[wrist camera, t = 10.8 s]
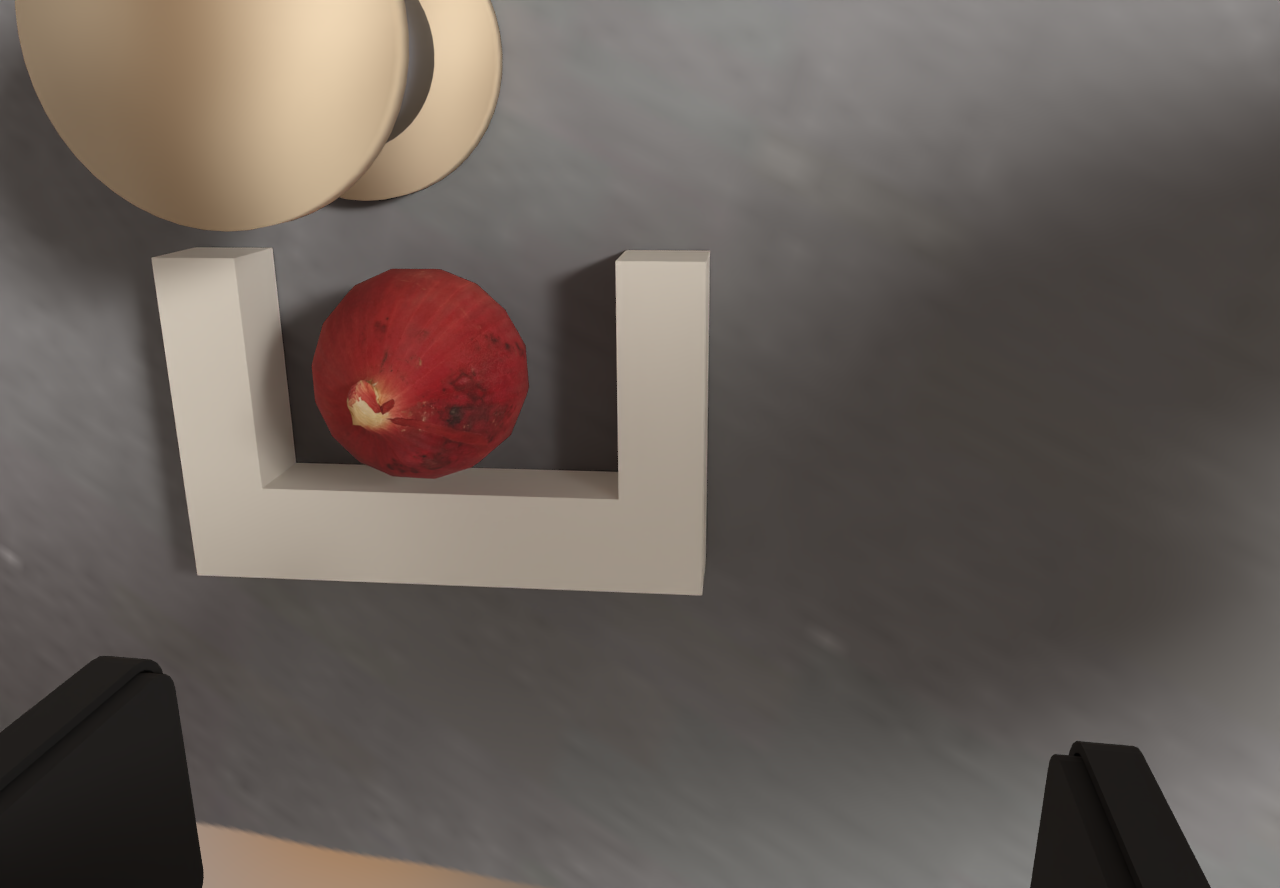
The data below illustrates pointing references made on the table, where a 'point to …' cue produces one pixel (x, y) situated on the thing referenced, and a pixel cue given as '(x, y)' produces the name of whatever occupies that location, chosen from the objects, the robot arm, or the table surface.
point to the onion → (419, 373)
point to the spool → (263, 98)
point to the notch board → (456, 503)
